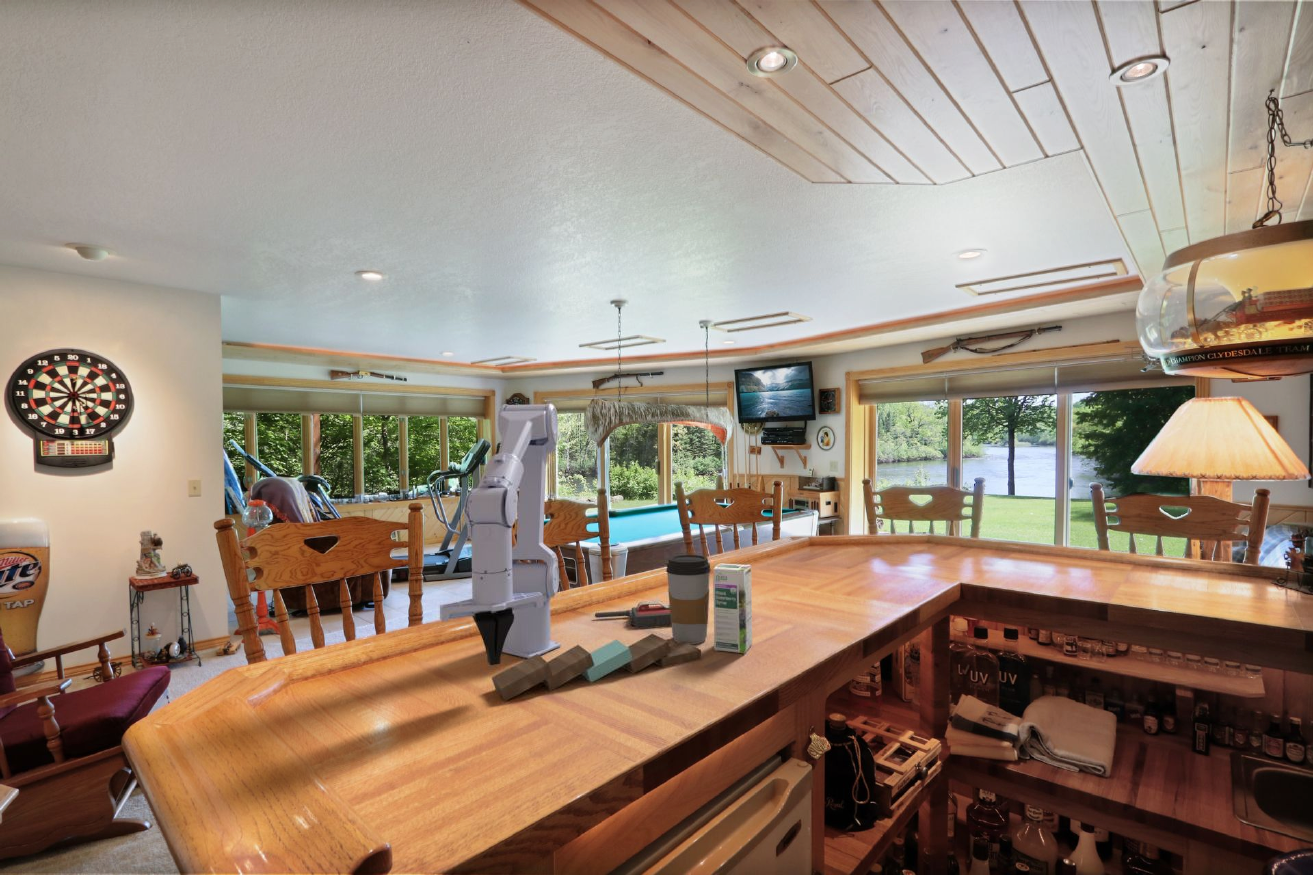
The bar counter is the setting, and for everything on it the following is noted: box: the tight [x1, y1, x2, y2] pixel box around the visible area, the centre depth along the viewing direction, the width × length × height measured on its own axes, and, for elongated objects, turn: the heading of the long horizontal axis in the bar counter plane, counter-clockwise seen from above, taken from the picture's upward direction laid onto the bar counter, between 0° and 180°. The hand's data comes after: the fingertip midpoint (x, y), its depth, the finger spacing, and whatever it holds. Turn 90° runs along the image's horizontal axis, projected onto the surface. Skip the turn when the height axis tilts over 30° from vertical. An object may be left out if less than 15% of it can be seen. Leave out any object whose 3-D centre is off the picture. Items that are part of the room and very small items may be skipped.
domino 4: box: [621, 633, 671, 674], centre depth 100 cm, size 2×5×8 cm
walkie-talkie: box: [594, 600, 672, 629], centre depth 124 cm, size 9×4×20 cm
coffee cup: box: [665, 554, 712, 645], centre depth 112 cm, size 8×8×15 cm
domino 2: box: [541, 644, 594, 692], centre depth 94 cm, size 2×5×8 cm
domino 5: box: [654, 642, 702, 669], centre depth 103 cm, size 2×5×8 cm
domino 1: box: [491, 654, 552, 702], centre depth 90 cm, size 2×5×8 cm
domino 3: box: [580, 639, 633, 683], centre depth 97 cm, size 2×5×8 cm
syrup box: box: [712, 563, 753, 655], centre depth 108 cm, size 6×6×14 cm
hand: (493, 662), depth 88 cm, fingers closed
